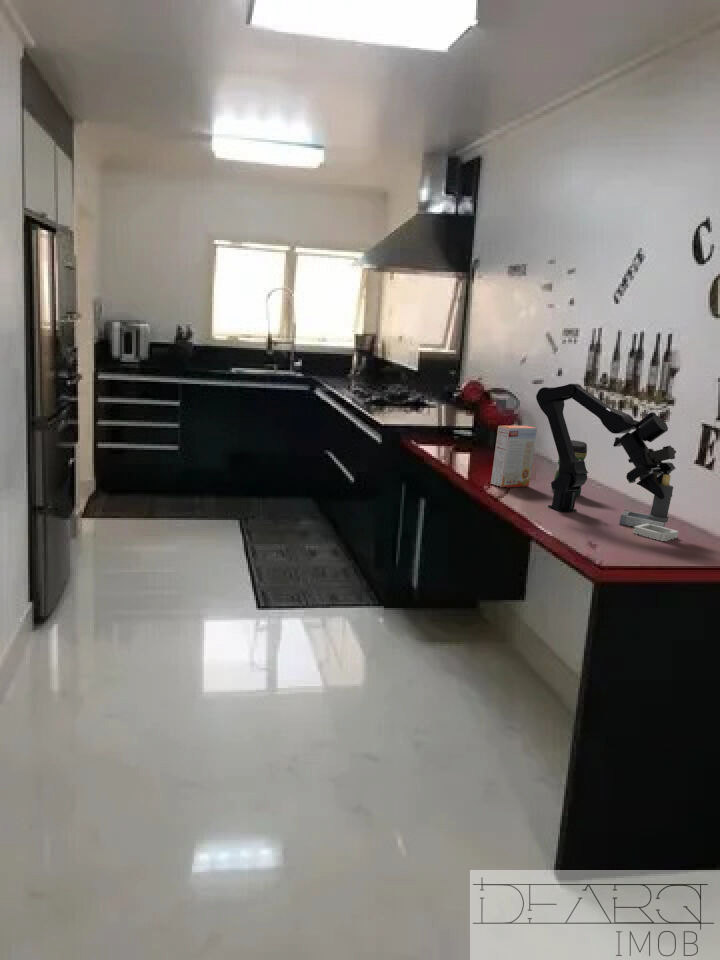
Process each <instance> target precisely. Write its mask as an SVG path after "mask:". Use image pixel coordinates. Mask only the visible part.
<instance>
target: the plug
mask: <svg viewBox="0 0 720 960" xmlns="http://www.w3.org/2000/svg"><path fill="white" fill-rule="evenodd" d="M671 477H672V475H670V474H669V475H666V474H663V478H662V483H661V484H659V486H660V488H661V490H662V492H663V494H664V498H663V499H660V498H658V497H657V496H655V495H654V494H653V500H652V505H651V508H650V513H648V515H649V517H648V518H649V519H650V520H653V521H657V522H666V523H668V521H669V517H668V515H669V511H670V505H671V500H672V497H673V490H674V486H672V485H670V482H671ZM671 496H672V497H671Z"/></svg>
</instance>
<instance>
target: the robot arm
mask: <svg viewBox="0 0 720 960" xmlns="http://www.w3.org/2000/svg"><path fill="white" fill-rule="evenodd" d="M535 399H536V402H537V404H538V407H539V408H540V410H541V411H542V412H543V413H544V415H545V416H546V418H547V420H548V424H549V426H550V431H551V434H552V438H553V441H554V445H555V448H556V451H557V454H558V459H560V464H559V477H558V478H557V479H555V480H554V479H553V480H552V481H551V482H550V486H551V490H552V489H553V490H554V492H553V497H552V500H551V501H552V503H551V504H548V505H547V506H548V508H550V507H551V509H552V510H553V509H554V510H556V511H559V512H565V513H567V512H570V513H571V512H577V511H578V509H576V508H575V505H576V500H577V496H576V491H579V490H580V488H581V489H582V486H584V485H585V484H586V482H587V481H588V474H589V471H588V470H587V467H586V462H585V460H584V461H579V460H578V459H577V458H576V456H575V453H574V449H573V446H572V443H571V440H572V439H571V436H570V433H569V430H568V429H569V428H568V426H567V423H566V419H565V415H564V408H565V401H569V400H571V399H572V400H574V401H575V402H577V404H580V405H581V406H582V407H583V408H585V409H587V411H589V412H590V413H591V414H594V416H596V417H597V418H598V419H599V420H600V422H601V424H602V425H603V427H605V428H606V429H607V430H608V431H609V432H610V433H611V434H614V435H615V434H617V435H618V434H620V435H621V434H623V435H622V436H621V437H620V436H618V437H617V436H616V437H614V442H613V448H616V447H622V448H623V450H624V451H625V453H626V454H627V456H628V458H629V459H627V461H628V463H629V464H632V465H633V468H632V469H631V470H630V471H628V472H627V473H626V477H625V478H626V480H627V481H628V483H629V484H634V483H636V485H637V486H641V488H643V489H645V490H646V491H648V492H650V493H651V494H653V496H654V495H655V496H657V497H658V498H660V499H663V498H664V494H663V492H662V490H661V488H660V486H659V484H661V483H662V478H663V474H666V475H670V474H671V473H672V472H673V471H675V470H676V467H675V465H674V464H673V463H672V462H670V461H668V460H675V459H676V456H675V455H676V453H677V451H676V449H675V448H674V447H672V445H665V446H662V448H661V449H656V450H654V449H653V448H649V447H648V446H647V444H646V443H645V442H649V443H652V442H654V441H655V440H656V439H657V438H659V437H660V436H662V435H663V434H665V433H666V432H668V431H669V427H668V424H667V423H666V421H665V420H663V418H661V417H660V416H658V415H657V414H656V412H653V411H652V412H649V413H647V414H646V416H645V417H643V418H642V419H641V420H640V421H638V420H637V419H636V420H635V419H634V418H633V417H632V415H630V414H629V413H626V412H623V411H622V410H619V409H616V408H613V407H611V406H610V405H608V404H606V403H605V402H604V401H602V400H601V399H599V398H598V397H596V396H595V395H593V393H591V392H589V391H588V390H586V389H585V388H584V387H582V385H581V384H579V383H568V384H565V385H559V386H556V387H541V388H539V390H538V391H537V394H536V395H535ZM632 430H634V431H632ZM631 431H632V432H631ZM665 461H666V462H665ZM637 480H639V481H638V482H636V481H637ZM672 497H673V495H672V496H671V498H672Z"/></svg>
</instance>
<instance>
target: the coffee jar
mask: <svg viewBox="0 0 720 960" xmlns="http://www.w3.org/2000/svg"><path fill="white" fill-rule="evenodd" d="M571 443H572V446H573V449H574V453H575V456H576V458H577V459H578V460H579V461H584V462H585V459H586V458H587V455H588V453H587V452H588V445H587V443H586V442H585V441H580V440H576V439H575V440H573V439H571ZM559 464H560V459H559V458H558V461H557V466H556V470H555V474H554V478H553V481H554V480H555V479H557V478H558V477H559ZM551 491H552V492H553V493H554V490H553V489H552V488H551ZM581 493H582V487H581V488H580V490H579V491H576V497H577V496H580V495H581Z"/></svg>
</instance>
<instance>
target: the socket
mask: <svg viewBox="0 0 720 960" xmlns="http://www.w3.org/2000/svg"><path fill="white" fill-rule="evenodd" d="M632 531H633V532H632V533H633V534H634V533H636V534H635V535H637V534H639V535H638V536H641V535H642V536H641V537H644V536H645V537H646V538H648V537H649V538H648V539H652V538H653V540H655V539H656V541H659V540H660V542H663V541H666V542H668V540H669V541H671V540H670V539H672V540H675V539H678V536H679V530H676V529H673V528H668V527H666V526H665V527H661V526H657V525H653V524H649V523H646V524H642V525H638V526H635V527H633V530H632ZM674 538H675V539H674Z"/></svg>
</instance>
